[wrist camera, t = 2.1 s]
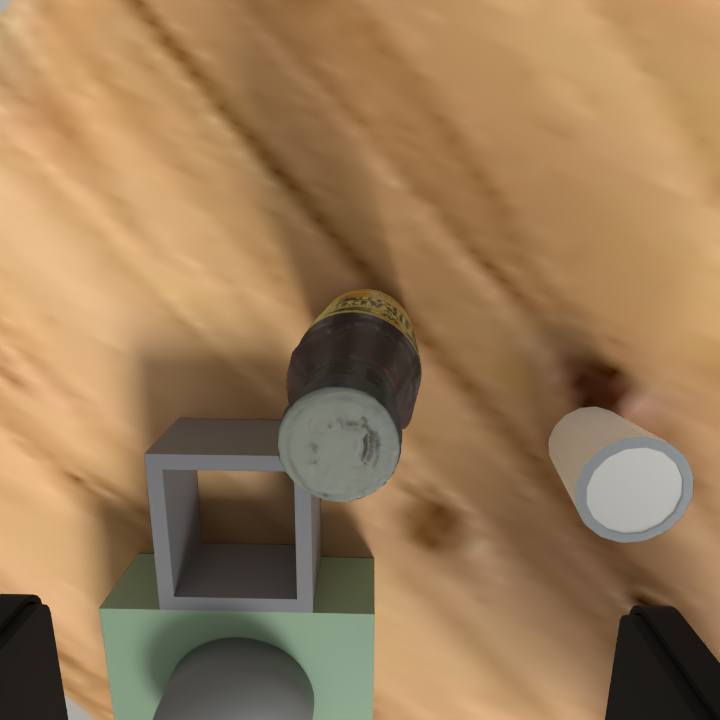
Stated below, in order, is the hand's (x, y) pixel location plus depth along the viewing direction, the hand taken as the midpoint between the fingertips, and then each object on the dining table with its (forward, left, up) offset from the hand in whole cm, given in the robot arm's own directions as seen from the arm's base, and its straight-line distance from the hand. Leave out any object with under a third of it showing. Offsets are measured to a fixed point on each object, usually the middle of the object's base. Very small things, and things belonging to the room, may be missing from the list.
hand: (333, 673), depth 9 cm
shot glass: (-16, +8, -29) cm, 34 cm away
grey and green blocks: (+8, +19, -28) cm, 35 cm away
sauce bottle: (0, 0, -29) cm, 29 cm away
